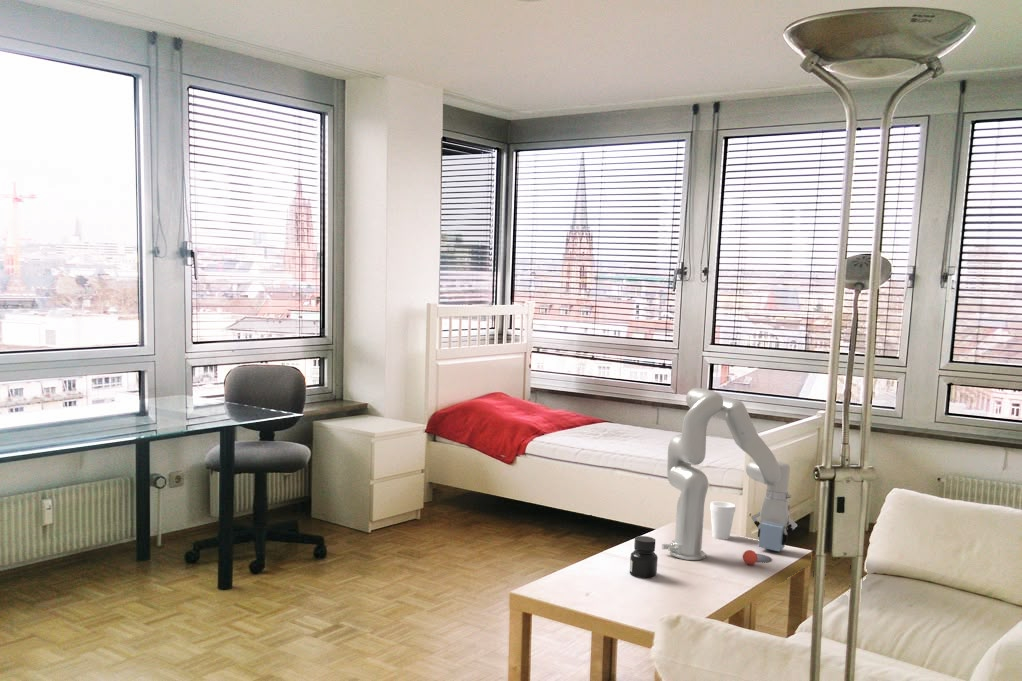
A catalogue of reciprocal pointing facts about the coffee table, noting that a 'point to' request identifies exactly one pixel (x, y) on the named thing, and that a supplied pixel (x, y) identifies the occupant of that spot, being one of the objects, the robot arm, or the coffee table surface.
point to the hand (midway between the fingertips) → (772, 541)
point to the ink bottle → (643, 558)
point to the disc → (763, 558)
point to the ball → (750, 557)
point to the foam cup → (721, 519)
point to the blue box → (771, 537)
